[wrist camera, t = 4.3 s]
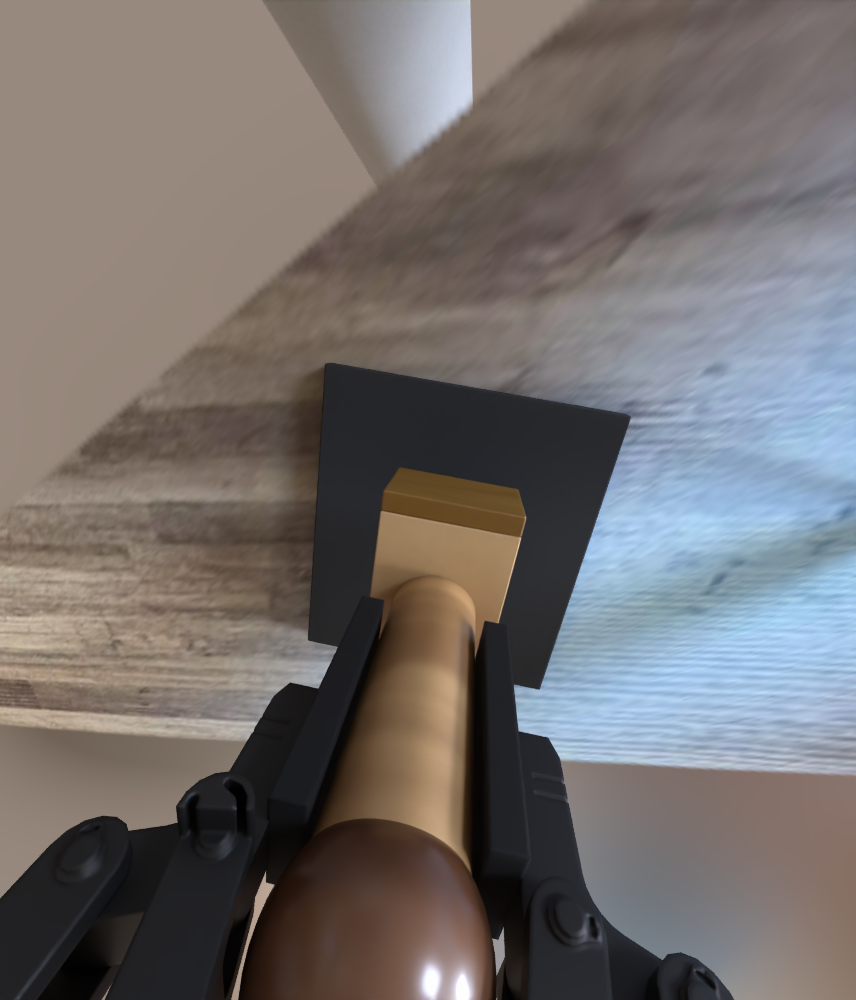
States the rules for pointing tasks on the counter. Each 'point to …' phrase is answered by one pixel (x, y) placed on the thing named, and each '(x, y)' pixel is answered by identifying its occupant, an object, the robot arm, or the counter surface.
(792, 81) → the counter surface
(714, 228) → the counter surface
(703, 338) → the counter surface
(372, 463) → the mat
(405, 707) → the stamp
